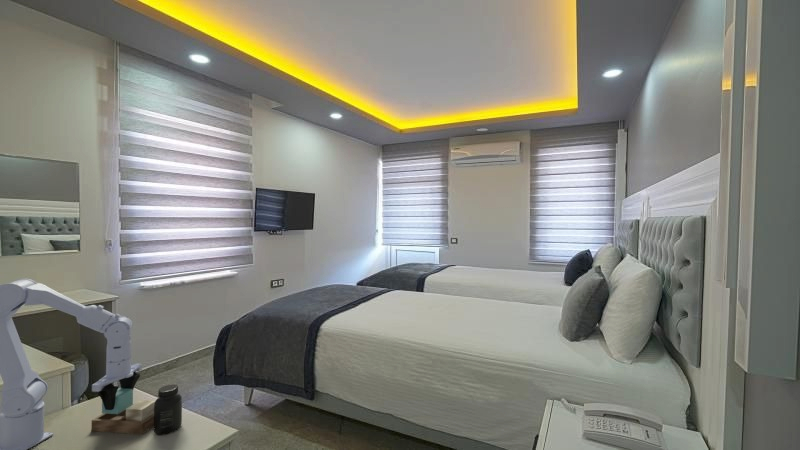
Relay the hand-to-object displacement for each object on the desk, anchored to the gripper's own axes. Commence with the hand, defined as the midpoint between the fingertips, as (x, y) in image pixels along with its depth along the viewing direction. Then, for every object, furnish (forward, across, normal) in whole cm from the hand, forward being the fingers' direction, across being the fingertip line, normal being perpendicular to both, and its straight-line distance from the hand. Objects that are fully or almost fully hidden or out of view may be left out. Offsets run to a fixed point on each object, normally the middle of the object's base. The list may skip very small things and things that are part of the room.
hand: (118, 404), depth 102 cm
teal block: (+2, 0, 0) cm, 2 cm away
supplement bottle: (+6, -1, -17) cm, 18 cm away
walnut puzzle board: (+6, 0, -4) cm, 7 cm away
